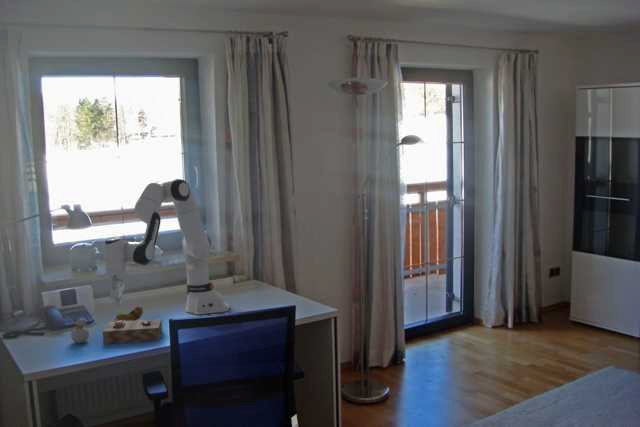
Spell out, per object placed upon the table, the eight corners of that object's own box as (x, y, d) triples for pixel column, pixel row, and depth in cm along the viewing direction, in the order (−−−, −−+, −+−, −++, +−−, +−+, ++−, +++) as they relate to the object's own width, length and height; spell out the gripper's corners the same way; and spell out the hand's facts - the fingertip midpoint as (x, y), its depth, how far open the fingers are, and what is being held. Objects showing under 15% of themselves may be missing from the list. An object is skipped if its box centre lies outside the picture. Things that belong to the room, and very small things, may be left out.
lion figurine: (142, 322, 323) (141, 304, 322) (145, 325, 319) (143, 307, 317) (111, 327, 317) (110, 309, 315) (113, 330, 312) (112, 311, 311)
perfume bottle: (81, 338, 300) (79, 313, 299) (96, 341, 296) (94, 315, 294) (68, 343, 294) (65, 317, 292) (83, 346, 289) (81, 320, 288)
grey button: (152, 332, 303) (151, 320, 302) (151, 335, 298) (150, 323, 298) (142, 332, 302) (141, 321, 301) (141, 335, 298) (140, 323, 297)
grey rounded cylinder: (125, 331, 301) (124, 320, 300) (123, 334, 297) (123, 322, 296) (115, 332, 300) (114, 320, 300) (113, 335, 296) (113, 323, 295)
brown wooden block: (162, 331, 308) (161, 318, 307) (159, 340, 294) (158, 327, 294) (109, 334, 305) (108, 322, 304) (103, 344, 291) (102, 331, 290)
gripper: (120, 278, 285) (122, 309, 287) (126, 268, 305) (129, 297, 307) (105, 279, 284) (107, 311, 286) (112, 269, 304) (115, 298, 306)
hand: (118, 303), depth 297 cm, fingers closed
